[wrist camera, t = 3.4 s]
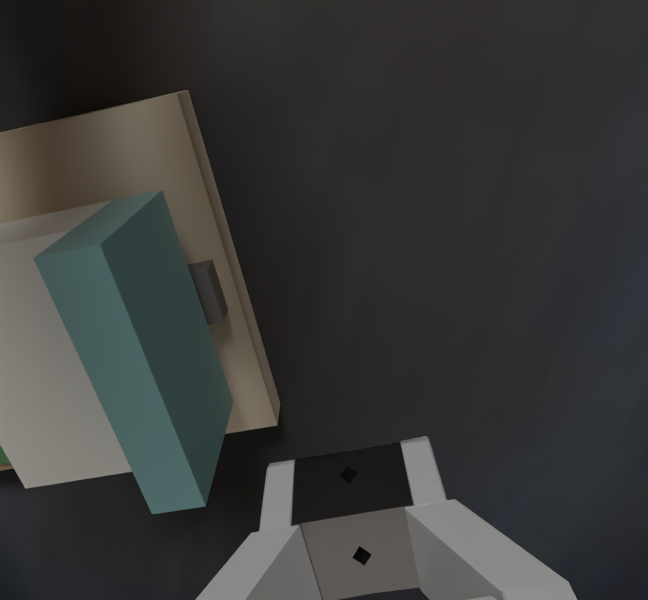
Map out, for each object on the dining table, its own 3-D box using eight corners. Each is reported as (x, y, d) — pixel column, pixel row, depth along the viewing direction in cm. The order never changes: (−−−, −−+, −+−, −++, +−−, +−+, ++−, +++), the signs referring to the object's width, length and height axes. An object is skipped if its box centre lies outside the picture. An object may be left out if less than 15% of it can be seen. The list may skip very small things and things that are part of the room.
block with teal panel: (162, 189, 17) (99, 244, 12) (251, 453, 21) (230, 566, 17) (-36, 231, 17) (-165, 298, 13) (90, 479, 22) (28, 594, 17)
